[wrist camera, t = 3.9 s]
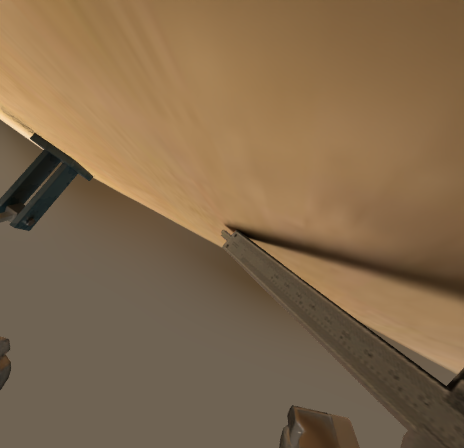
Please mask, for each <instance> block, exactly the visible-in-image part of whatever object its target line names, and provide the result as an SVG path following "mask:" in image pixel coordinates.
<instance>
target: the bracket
mask: <svg viewBox="0 0 464 448" xmlns="http://www.w3.org/2000/svg"><path fill="white" fill-rule="evenodd" d="M30 139H31V140H32V141H34V142H35V143H36V144H38V145H39V146H40V147H42V148H43V149H44V151H43V152H42V153H41V154H40V155H39V156H38V157H37V158H36V159H35V161H34V162H33V163H32V164H31V165H30V166H29V167H28V169H26V171H25V172H24V173H23V174H22V175H21V176H20V177H19V178H18V180H17V181H16V182H15V183H14V184H13V185H12V186H11V187H10V189H9V190H8V191H7V192H6V193H5V194H4V195H3V196H2V197H1V199H0V213H3V212H5V210H6V207H7V206H9V205H14V204H18V203H22V204H24V203H25V202H26V201H27V200H28V199H29V197H30V196H31V195H32V194H33V193H34V192H35V191H36V189H37V188H38V187H39V186H40V185H41V184H42V182H43V181H44V180H45V179H46V178H47V177H48V176H49V175H50V173H51V172H52V171H53V170H54V169H55V167H57V165H58V164H59V163H60V162H62V165H61V166H60V167H59V168H58V169H57V170H56V171H55V173H54V174H53V175H52V176H51V177H50V179H49V180H48V181H47V182H46V183H45V184H44V185H43V186H42V188H41V189H40V190H39V191H38V192H37V193H36V195H35V196H34V197H33V198H32V199H31V200H30V201H29V203H28V204H27V205H26V206H25V207H24V208H23V209H22V211H21V212H20V213H19V214H18V215H17V216H16V217H15V219H14V220H13V221H12V222H11V223H10V225H11V226H12V227H14V228H18V229H23V230H28V231H29V230H31V229H32V227H33V226H34V225H35V224H36V223H37V221H38V220H39V219H40V218H41V217H42V216H43V214H44V213H45V212H46V211H47V210H48V208H49V207H50V206H51V205H52V204H53V202H54V201H55V200H56V199H57V198H58V197H59V195H60V194H61V193H62V192H63V191H64V190H65V188H66V187H67V186H68V185H69V184H70V182H71V181H72V180H73V179H74V178H75V176H76V175H77V174H79V175H81V176H82V177H84V178H86V179H87V180H88V181H90V180H91V179H92V178H93V176H92V175H91V174H90V173H88V172H87V171H86V170H85V169H84V168H83V167H82V166H80V165H79V164H78V163H77V162H76V161H75V160H73V159H72V158H70V157H69V156H67V155H66V154H65V153H63V152H62V151H60V150H59V149H57V148H56V147H54V146H53V145H51V144H50V143H48V142H47V141H45V140H44V139H42V138H41V137H40V136H38V135H37V134H35V133H34V134H33V136H32V137H31V138H30Z"/></svg>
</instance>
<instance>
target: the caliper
mask: <svg viewBox="0 0 464 448" xmlns="http://www.w3.org/2000/svg"><path fill="white" fill-rule="evenodd" d="M221 233H222V235H221V236H222V237H223V238H224V239H226V240H227V242H226V243H225V244H224V245H223V248H224V249H225V250H226V251H227V252H228V253H229V254H230V255H231V256H232V257H233V258H234V259H235V260H236V261H237V262H238V263H239V264H240V265H241V266H242V267H243V268H244V269H245V270H246V271H247V272H248V273H249V274H250V275H251V276H252V277H253V278H254V279H255V280H256V281H257V282H258V283H259V284H260V285H261V286H262V287H263V288H264V289H265V290H266V291H267V292H268V293H269V294H270V295H271V296H272V297H273V298H274V299H275V300H276V301H277V302H278V303H279V304H280V305H281V306H282V307H283V308H284V309H285V310H286V311H287V312H288V313H289V314H290V315H291V316H292V317H293V318H294V319H295V320H296V321H297V322H298V323H299V324H301V326H303V328H304V329H305V330H307V332H309V334H310V335H311V336H313V337H314V338H315V339H316V340H317V341H318V342H319V343H320V344H321V345H322V346H323V347H324V348H325V349H326V350H327V351H328V352H329V353H330V354H331V355H332V356H333V357H334V358H335V359H336V360H337V361H338V362H339V363H340V364H341V365H342V366H343V367H344V368H345V369H346V370H347V371H348V372H349V373H350V374H351V375H352V376H353V377H354V378H355V379H356V380H357V381H358V382H359V383H360V384H361V385H362V386H363V387H364V388H365V389H366V390H367V391H368V392H370V394H372V395H373V396H374V397H375V398H376V399H377V400H378V401H379V402H380V403H381V404H382V405H383V406H384V407H385V408H386V409H387V410H388V411H389V412H390V413H391V414H392V415H393V416H394V417H395V418H396V419H397V420H398V421H399V422H400V423H401V424H402V425H403V426H404V427H405V428H406V429H407V430H408V431H407V432H406V434H405V435H404V436H403V440H402V444H401V448H464V368H463V369H462V370H461V372H460V373H459V374H458V375H457V376H456V377H455V378H454V379H453V380H452V381H451V382H450V383H449V384H448V385H447V386H445V385H444V384H443V383H441V382H440V381H439V380H437V379H436V378H434V377H433V376H432V375H430V374H429V373H428V372H426V371H425V370H424V369H422V368H421V367H420V366H418V365H417V364H416V363H414V362H413V361H412V360H410V359H409V358H408V357H406V356H405V355H403V354H402V353H401V352H400V351H398V350H397V349H395V348H394V347H393V346H391V345H390V344H389V343H387V342H386V341H385V340H383V339H382V338H381V337H379V336H378V335H376V334H375V333H374V332H373V331H371V330H370V329H369V328H367V327H366V326H365V325H363V324H362V323H360V322H359V321H358V320H356V319H355V318H354V317H352V316H351V315H350V314H348V313H347V312H346V311H344V310H343V309H342V308H340V307H339V306H338V305H336V304H335V303H334V302H332V301H331V300H329V299H328V298H327V297H325V296H324V295H323V294H321V293H320V292H319V291H317V290H316V289H315V288H313V287H312V286H311V285H309V284H308V283H307V282H305V281H304V280H303V279H301V278H300V277H299V276H297V275H296V274H295V273H293V272H292V271H291V270H289V269H288V268H287V267H285V266H284V265H283V264H282V263H280V262H279V261H278V260H276V259H275V258H274V257H272V256H271V255H270V254H268V253H267V252H266V251H264V250H263V249H262V248H261V247H259V246H258V245H257V244H255V243H254V242H253V241H251V240H250V239H249V238H247V237H246V236H245V235H243V234H242V233H241V232H240V231H238V230H236V231H235V232H234V233H233V234H232V235H230V234H229V233H228V232H227V231H225V230H222V232H221Z"/></svg>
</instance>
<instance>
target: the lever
mask: <svg viewBox="0 0 464 448" xmlns="http://www.w3.org/2000/svg"><path fill="white" fill-rule="evenodd" d="M24 207H25V205H24V204H22V203H18V204H14V205H9V206H7V207H6V210H5V212H3V213H0V222H4V221H7V220H8V221H10V222H12V221H13V220H14V219H15V217H16V216H17V215H18V214H19V213H20V212H21V211H22V209H23V208H24Z"/></svg>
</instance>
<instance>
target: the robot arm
mask: <svg viewBox="0 0 464 448" xmlns="http://www.w3.org/2000/svg"><path fill="white" fill-rule="evenodd" d="M9 350H10V343H9V339H6V338H4V337H0V390H1V389H2V387H3V386H4V384H5V382H6V381H7V379H8V377H9V374H10V371H11V362H10V360H9V359H8V357H7V356H6V355H5V354H6V353H7V352H8V351H9ZM279 448H360V447H359V444H358V441H357V438H356V435H355V432H354V429H353V426H352V424H351V421H350V420H349V419H348V418H346V417H341V416H336V415H332V414H327V413H324V412H320V411H315V410H311V409H306V408H302V407H298V406H293V405H292V406H291V408H290V410H289V413H288V425H287V426H285V427H284V428H283V431H282V435H281V439H280V447H279Z"/></svg>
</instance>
